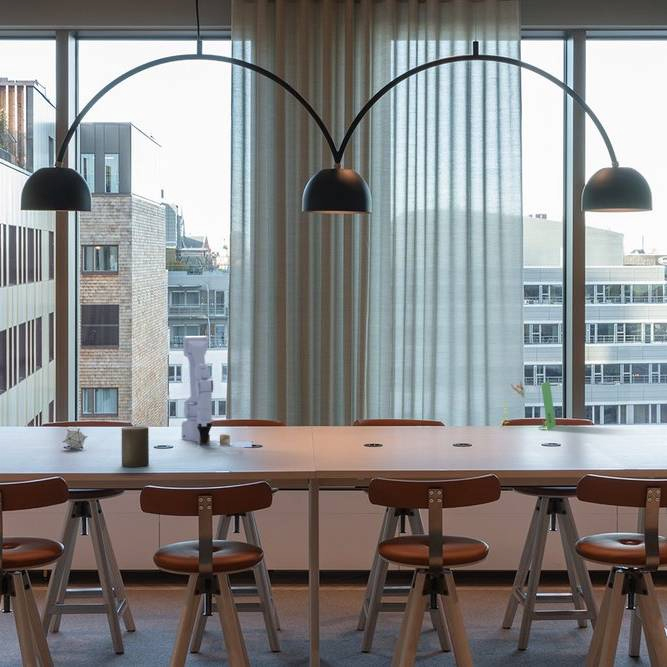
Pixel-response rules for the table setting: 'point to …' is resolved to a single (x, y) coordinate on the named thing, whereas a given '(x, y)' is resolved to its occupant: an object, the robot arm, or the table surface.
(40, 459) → the table surface
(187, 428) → the robot arm
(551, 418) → the toy game set
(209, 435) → the walnut cube
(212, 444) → the board
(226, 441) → the maple cube
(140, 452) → the pillar candle
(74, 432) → the beige spiky star ball
